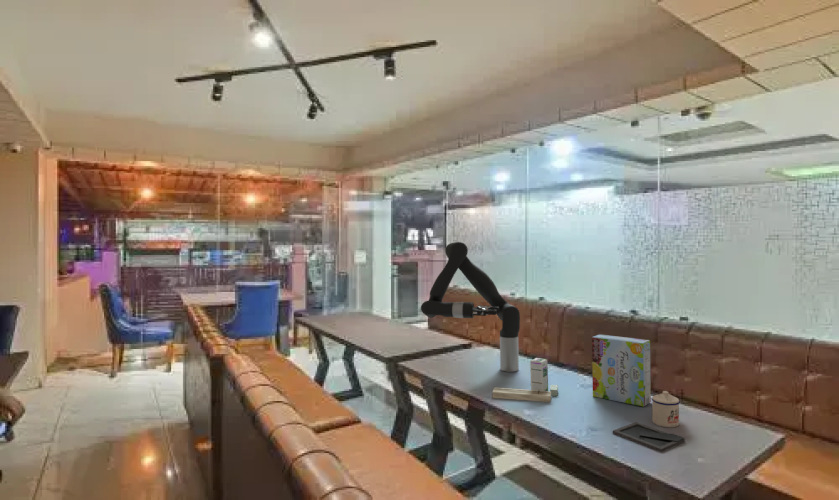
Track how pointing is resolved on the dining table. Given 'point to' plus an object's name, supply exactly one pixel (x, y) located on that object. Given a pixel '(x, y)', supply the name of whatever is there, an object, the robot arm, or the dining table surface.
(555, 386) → the stop block
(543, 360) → the syrup box
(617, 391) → the snack box
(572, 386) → the dining table surface
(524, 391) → the birch board
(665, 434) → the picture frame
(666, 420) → the teacup with lid
